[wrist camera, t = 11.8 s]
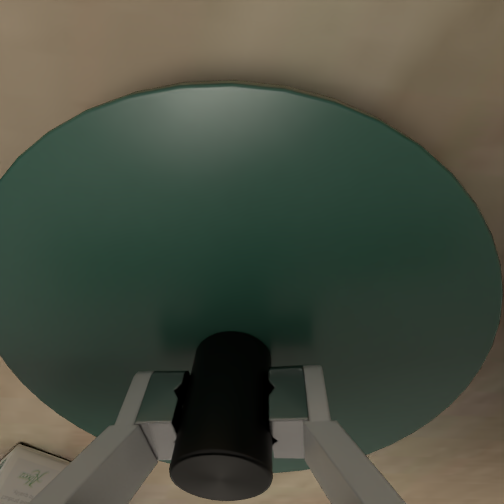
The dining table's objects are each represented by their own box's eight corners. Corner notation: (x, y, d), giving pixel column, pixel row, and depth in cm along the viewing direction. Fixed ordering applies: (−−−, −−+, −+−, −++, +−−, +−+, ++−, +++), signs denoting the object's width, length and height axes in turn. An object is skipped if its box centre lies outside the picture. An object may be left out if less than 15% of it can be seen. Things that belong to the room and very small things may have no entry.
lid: (569, 34, 7) (1007, 30, 3) (429, 443, 15) (486, 588, 11) (-123, 115, 8) (-494, 189, 4) (100, 448, 16) (48, 578, 12)
